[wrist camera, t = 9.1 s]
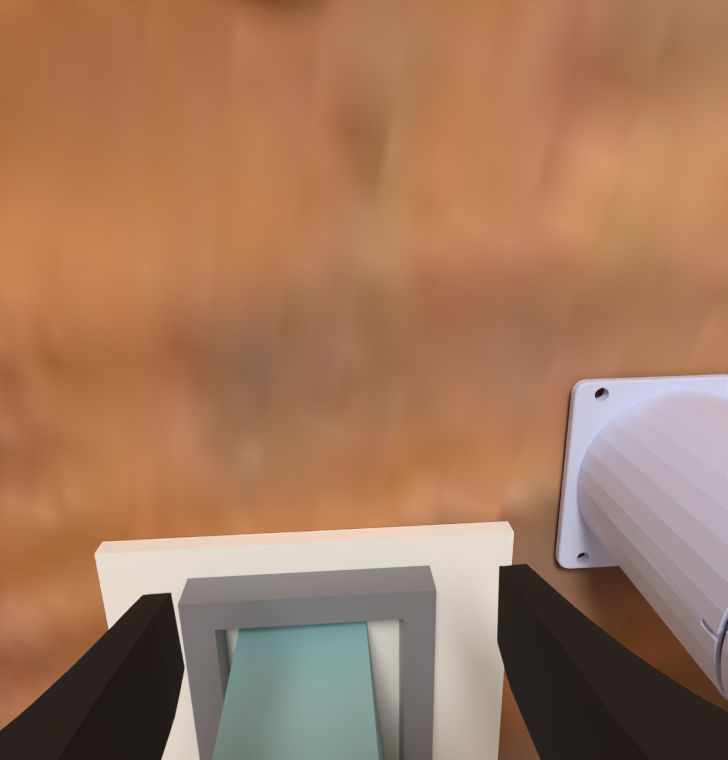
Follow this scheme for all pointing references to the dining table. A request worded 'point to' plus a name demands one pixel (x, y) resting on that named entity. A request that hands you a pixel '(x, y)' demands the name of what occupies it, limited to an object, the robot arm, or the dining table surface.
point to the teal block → (301, 695)
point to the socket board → (337, 621)
